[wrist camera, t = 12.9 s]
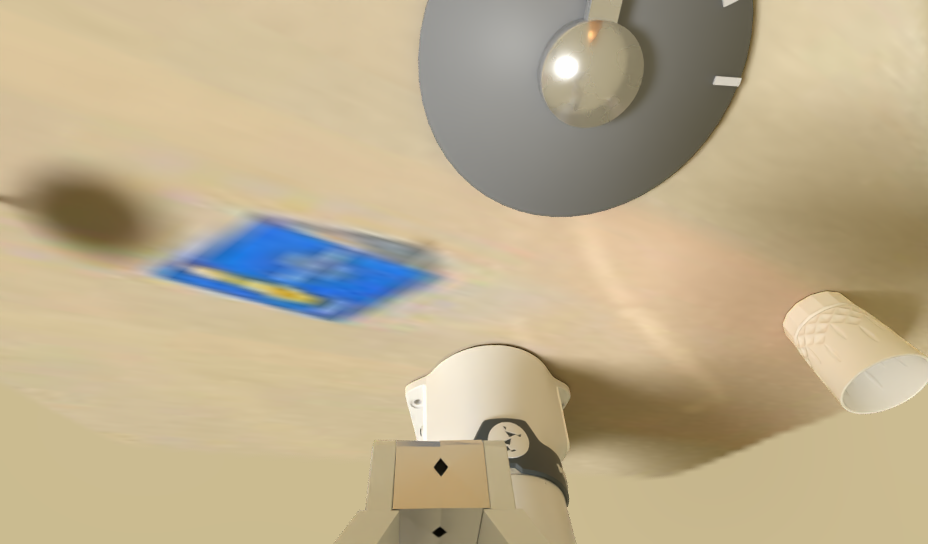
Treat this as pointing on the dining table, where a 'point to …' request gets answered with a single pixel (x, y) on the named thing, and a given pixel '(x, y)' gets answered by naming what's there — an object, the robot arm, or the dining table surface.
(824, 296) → the white cup
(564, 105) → the dial
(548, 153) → the dial plate
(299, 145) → the dining table surface
